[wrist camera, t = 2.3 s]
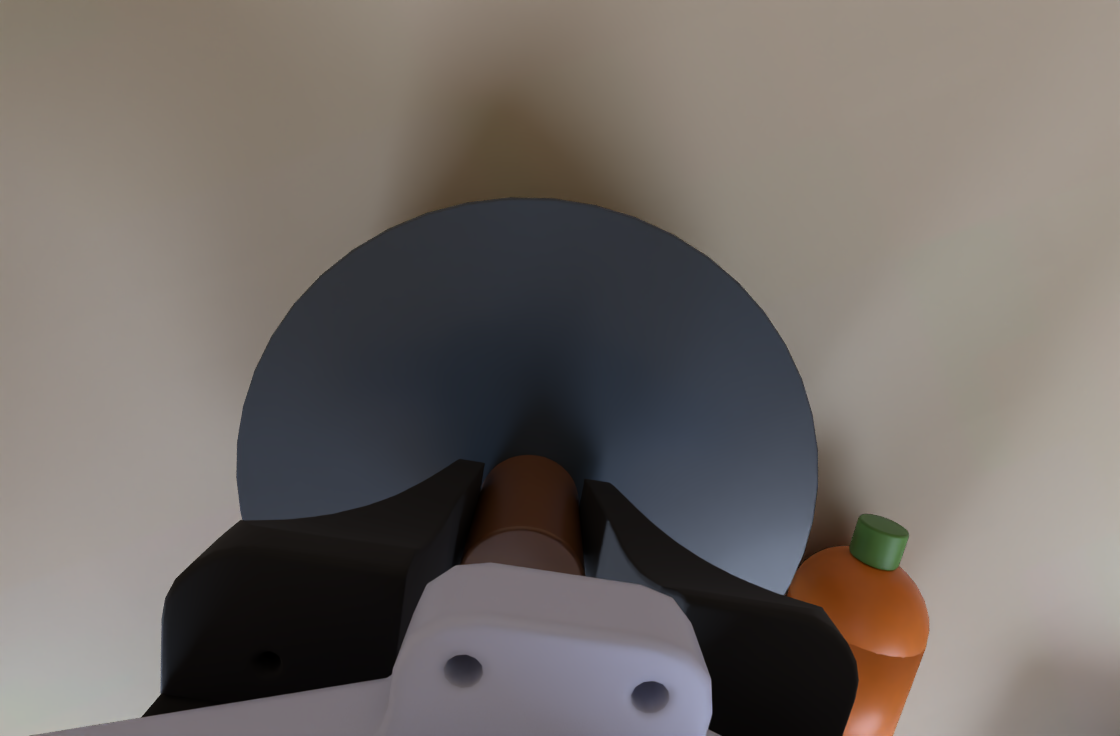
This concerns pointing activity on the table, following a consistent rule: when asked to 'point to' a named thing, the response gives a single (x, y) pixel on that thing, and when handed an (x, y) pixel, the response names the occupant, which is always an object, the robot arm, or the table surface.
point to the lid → (538, 388)
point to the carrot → (871, 617)
